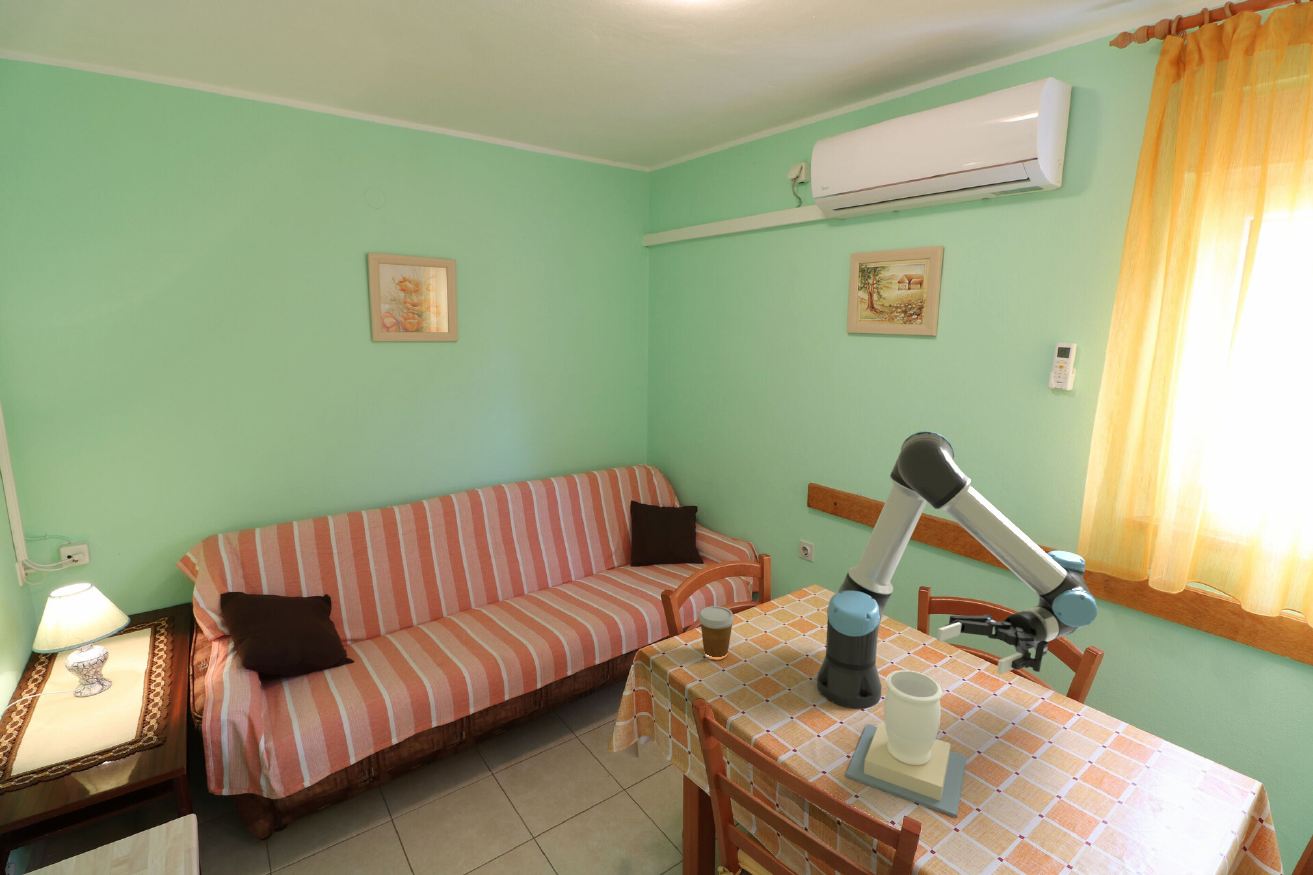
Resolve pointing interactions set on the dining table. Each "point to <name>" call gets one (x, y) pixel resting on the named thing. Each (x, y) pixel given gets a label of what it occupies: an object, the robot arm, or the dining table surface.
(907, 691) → the jar
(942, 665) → the dining table surface
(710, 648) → the disposable coffee cup
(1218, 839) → the dining table surface
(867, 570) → the robot arm
